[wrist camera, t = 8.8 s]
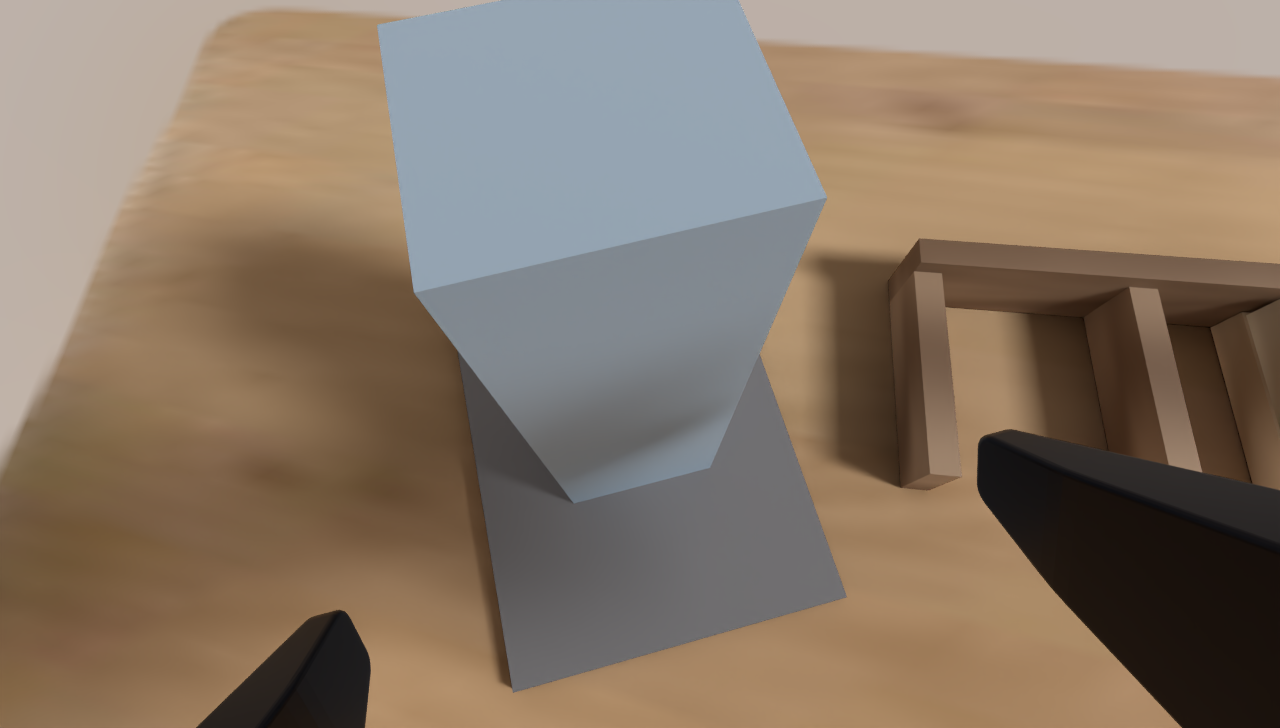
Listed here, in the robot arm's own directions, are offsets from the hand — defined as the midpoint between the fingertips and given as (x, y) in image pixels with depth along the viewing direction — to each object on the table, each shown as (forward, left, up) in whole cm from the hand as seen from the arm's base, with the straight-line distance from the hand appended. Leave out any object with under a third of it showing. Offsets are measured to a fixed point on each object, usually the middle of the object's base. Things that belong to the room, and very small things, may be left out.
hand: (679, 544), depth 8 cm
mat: (+3, +3, -9) cm, 10 cm away
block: (+3, +3, -9) cm, 10 cm away
